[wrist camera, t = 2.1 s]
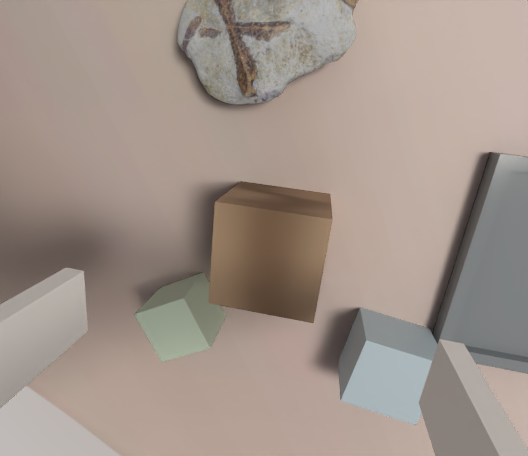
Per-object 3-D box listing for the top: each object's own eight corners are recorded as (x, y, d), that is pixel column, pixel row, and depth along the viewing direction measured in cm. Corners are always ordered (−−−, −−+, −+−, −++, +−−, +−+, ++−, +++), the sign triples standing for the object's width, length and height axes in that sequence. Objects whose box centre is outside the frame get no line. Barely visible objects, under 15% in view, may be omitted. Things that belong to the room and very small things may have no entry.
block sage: (183, 328, 28) (161, 361, 24) (160, 287, 27) (134, 314, 23) (226, 315, 27) (210, 348, 23) (204, 271, 26) (183, 298, 22)
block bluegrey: (338, 360, 26) (340, 400, 22) (359, 306, 24) (366, 340, 21) (402, 380, 26) (415, 425, 22) (428, 327, 24) (448, 365, 20)
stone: (229, 129, 21) (214, 128, 19) (173, 18, 21) (149, 1, 18) (375, 44, 18) (380, 30, 16) (317, -91, 18) (313, -129, 15)
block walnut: (234, 261, 25) (208, 303, 19) (241, 181, 23) (214, 201, 17) (315, 275, 24) (313, 322, 19) (330, 193, 22) (332, 219, 17)
